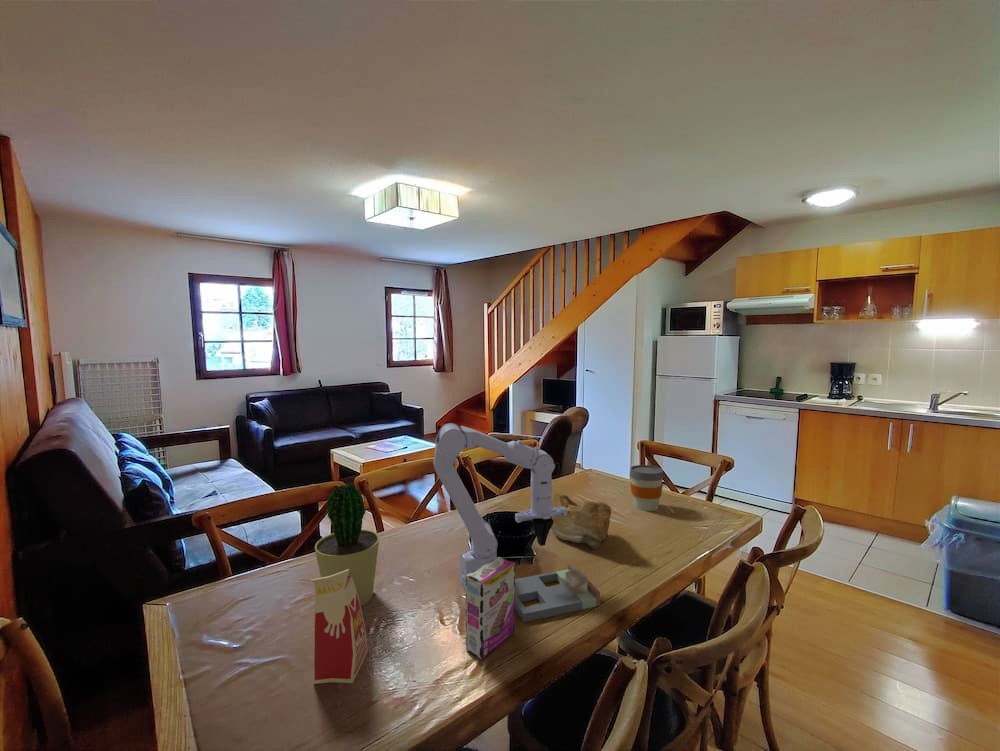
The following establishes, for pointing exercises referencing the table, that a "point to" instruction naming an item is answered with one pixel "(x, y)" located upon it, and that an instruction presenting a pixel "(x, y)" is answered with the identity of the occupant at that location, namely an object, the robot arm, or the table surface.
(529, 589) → the board
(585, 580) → the block
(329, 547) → the potted cactus
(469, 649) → the candy bar box
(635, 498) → the reusable coffee cup
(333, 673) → the milk carton
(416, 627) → the table surface
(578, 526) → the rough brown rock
